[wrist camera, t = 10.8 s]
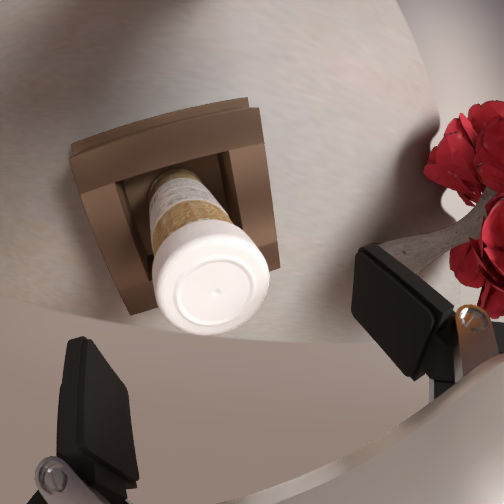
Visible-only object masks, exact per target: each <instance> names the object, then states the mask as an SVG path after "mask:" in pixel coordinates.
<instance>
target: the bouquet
mask: <svg viewBox="0 0 504 504" xmlns="http://www.w3.org/2000/svg"><path fill="white" fill-rule="evenodd" d="M427 163H428V164H427V165H426V166H425V167H424V172H423V173H424V174H425V175H426V177H427V178H428V179H429V180H431V181H433V182H436V183H438V184H440V185H442V186H444V187H446V188H450V189H452V190H455V191H457V193H458V194H459V196H460V197H461V198H462V199H463V201H464V202H465V204H466V205H468V206H473V207H474V208H473V209H472V210H471V211H470V212H469V213H468V214H467V215H466V216H465V217H463V218H462V219H461V220H459V221H458V222H456V223H454V224H452V225H451V226H449V227H446V228H444V229H442V230H439V231H435V232H431V233H426V234H421V235H415V236H409V237H403V238H398V239H394V240H390V241H387V242H384V243H381V244H378V246H380V247H381V248H382V249H384V250H385V251H386V252H388V253H389V254H390V255H392V256H393V257H394V258H396V259H397V260H398V261H399V262H401V263H402V264H403V265H405V266H406V267H407V268H408V269H410V270H411V271H412V272H414V273H415V274H417V273H418V272H420V271H421V270H422V269H424V268H425V267H426V266H427V265H429V264H430V263H431V262H433V261H434V260H435V259H436V258H438V257H439V256H441V255H442V254H444V253H445V252H447V251H448V250H450V249H451V250H450V258H449V263H450V270H452V271H453V272H454V274H455V277H456V278H457V279H458V280H459V282H460V283H462V284H463V285H465V286H469V287H473V288H480V287H482V289H481V293H480V296H479V300H478V303H477V306H478V307H481V308H482V309H483V310H485V311H486V312H487V314H488V315H489V317H490V318H492V319H498V318H499V317H500V316H504V102H503V101H498V100H496V101H493V100H492V101H487V102H485V103H483V104H482V105H480V104H475V105H473V106H472V107H471V108H470V109H469V112H468V119H467V118H466V117H465V116H464V115H463V114H462V113H460V115H459V119H458V118H454V119H453V120H452V121H451V122H450V124H448V126H447V128H446V131H445V133H444V137H443V139H442V140H441V141H440V143H439V144H438V146H436V147H434V148H433V149H432V151H431V152H430V154H429V159H428V160H427ZM481 192H482V194H481ZM474 193H475V194H474ZM470 200H471V201H473V202H475V203H476V206H475V205H474V204H473V203H472V202H471V201H470Z"/></svg>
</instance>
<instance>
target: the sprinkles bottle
mask: <svg viewBox="0 0 504 504" xmlns="http://www.w3.org/2000/svg"><path fill="white" fill-rule="evenodd" d="M148 202H149V207H150V208H149V214H150V230H151V242H152V249H153V253H154V261H153V267H152V278H153V286H154V292H155V297H156V302H157V305H158V307H159V309H160V311H161V313H162V315H163V316H164V317H165V318H166V319H167V320H168V322H169V323H171V324H172V325H173V326H175V327H176V328H178V329H180V330H182V331H184V332H187V333H190V334H195V335H217V334H221V333H225V332H228V331H230V330H233V329H235V328H237V327H239V326H240V325H242V324H243V323H245V322H246V321H248V320H249V319H250V318H251V317H252V316H253V315H254V314H255V313H256V312H257V311H258V309H259V308H260V306H261V305H262V303H263V301H264V299H265V297H266V295H267V292H268V288H269V279H270V277H269V269H268V266H267V263H266V260H265V258H264V256H263V255H262V253H261V252H260V250H259V249H258V248H257V246H256V245H255V244H254V242H253V241H252V240H251V239H250V237H249V236H248V235H247V234H246V233H245V232H244V231H243V230H241V229H240V228H239V227H237V226H235V225H234V224H233V223H232V222H231V220H230V218H229V216H228V214H227V213H226V211H225V210H224V209H223V208H222V206H221V205H220V204H219V203H218V201H217V200H216V199H215V198H214V196H213V195H212V194H211V193H210V191H209V190H208V189H207V188H206V187H205V186H204V184H203V182H202V181H201V179H200V178H199V177H198V176H197V175H196V174H195V173H193V172H191V171H188V170H186V169H180V168H178V169H170V170H168V171H165V172H163V173H162V174H160V175H159V176H158V177H157V178H156V179H155V180H154V182H153V183H152V185H151V187H150V190H149V194H148Z"/></svg>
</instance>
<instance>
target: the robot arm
mask: <svg viewBox="0 0 504 504" xmlns="http://www.w3.org/2000/svg"><path fill="white" fill-rule="evenodd" d="M453 308H454V305H452V304H451V303H450V302H449V301H448V300H447V299H445V298H444V297H443V296H442V295H441V294H439V293H438V292H437V291H436V290H435V289H433V288H432V287H431V286H430V285H428V284H427V283H426V282H425V281H424V280H422V279H421V278H420V277H419V276H417V275H416V274H415V273H414V272H412V271H411V270H410V269H408V268H407V267H406V266H405V265H403V264H402V263H401V262H399V261H398V260H397V259H396V258H394V257H393V256H392V255H390V254H389V253H388V252H386V251H385V250H384V249H382V248H381V247H380V246H378V245H377V244H375V243H372V244H369V245H366V246H364V247H361V248H360V249H359V250H358V253H357V254H356V256H355V270H354V283H353V295H352V305H351V311H352V314H353V316H354V318H355V319H356V320H357V321H358V322H359V323H360V324H361V325H362V327H363V328H364V329H365V330H366V331H367V332H368V333H369V335H370V336H371V337H372V338H373V339H374V340H375V341H376V342H377V344H378V345H379V346H380V347H381V348H382V349H383V350H384V351H385V353H386V354H387V355H388V356H389V357H390V358H391V360H392V361H393V362H394V363H395V364H396V366H397V367H398V368H399V369H400V370H401V371H402V373H403V374H404V375H405V376H407V377H409V376H410V377H411V378H412V379H413V381H416V380H417V379H419V378H420V377H421V376H423V375H424V374H425V373H426V374H427V375H428V376H429V404H428V405H426V406H425V407H424V408H422V409H421V410H420V411H418V412H417V413H415V414H414V415H412V416H411V417H409V418H408V419H406V420H405V421H403V422H402V423H400V424H399V425H397V426H396V427H394V428H393V429H391V430H389V431H388V432H386V433H384V434H383V435H381V436H379V437H378V438H376V439H374V440H373V441H371V442H369V443H367V444H366V445H364V446H362V447H360V448H358V449H357V450H355V451H353V452H351V453H349V454H347V455H345V456H343V457H341V458H339V459H337V460H335V461H333V462H331V463H329V464H327V465H325V466H323V467H320V468H318V469H316V470H314V471H311V472H309V473H307V474H305V475H302V476H300V477H297V478H295V479H293V480H290V481H287V482H284V483H282V484H279V485H276V486H274V487H271V488H268V489H265V490H262V491H259V492H256V493H253V494H250V495H247V496H243V497H240V498H237V499H233V500H230V501H226V502H222V503H218V504H504V323H502V322H493V321H491V319H490V317H489V315H488V314H487V312H486V311H485V310H483V309H482V308H481V307H478V306H476V305H471V304H470V305H463V306H461V307H459V308H458V309H457V311H456V313H455V312H454V311H453ZM56 455H57V457H56V456H50V457H47V458H45V459H43V460H42V461H41V462H40V463H39V465H38V466H37V468H36V471H35V482H36V486H37V488H38V491H37V492H36V493H35V494H34V495H33V497H32V498H31V499H30V501H29V502H28V503H27V504H133V503H132V502H131V501H130V500H128V499H127V493H126V489H133V488H137V484H136V481H138V480H139V472H138V467H137V461H136V454H135V447H134V440H133V433H132V425H131V416H130V406H129V395H128V391H127V388H126V387H125V385H124V384H123V382H122V381H121V380H120V379H119V377H118V376H117V375H116V373H115V372H114V371H113V369H112V368H111V367H110V365H109V364H108V362H107V361H106V360H105V358H104V357H103V355H102V354H101V353H100V351H99V350H98V348H97V347H96V345H95V344H94V342H93V341H92V340H91V339H88V340H87V338H86V337H84V336H82V337H79V338H75V339H71V340H69V341H68V343H67V349H66V355H65V362H64V370H63V378H62V384H61V387H60V394H59V405H58V420H57V453H56Z"/></svg>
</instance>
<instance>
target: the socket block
mask: <svg viewBox="0 0 504 504" xmlns="http://www.w3.org/2000/svg"><path fill="white" fill-rule="evenodd" d="M71 146H72V150H73V154H74V156H72V157H71V158H70V159H69V161H70V165H71V168H72V172H73V175H74V178H75V181H76V184H77V188H78V191H79V194H80V197H81V200H82V203H83V205H84V208H85V211H86V214H87V217H88V219H89V222H90V225H91V227H92V230H93V233H94V235H95V238H96V240H97V243H98V245H99V248H100V250H101V253H102V255H103V257H104V260H105V262H106V264H107V267H108V269H109V271H110V273H111V276H112V278H113V280H114V282H115V285H116V287H117V289H118V291H119V293H120V295H121V297H122V299H123V301H124V304H125V306H126V308H127V310H128V312H129V314H130V316H131V315H134V314H138V313H141V312H144V311H147V310H151V309H154V308H157V307H158V305H157V302H156V297H155V292H154V286H153V278H152V267H153V261H154V253H153V249H152V242H151V230H150V214H149V208H150V207H149V202H148V194H149V190H150V187H151V185H152V183H153V182H154V180H155V179H156V178H157V177H158V176H159V175H160V174H162V173H163V172H165V171H168V170H170V169H178V168H180V169H186V170H188V171H191V172H193V173H195V174H196V175H197V176H198V177H199V178H200V179H201V181H202V182H203V184H204V186H205V187H206V188H207V189H208V190H209V191H210V193H211V194H212V195H213V196H214V198H215V199H216V200H217V201H218V203H219V204H220V205H221V206H222V208H223V209H224V210H225V211H226V213H227V214H228V216H229V218H230V220H231V222H232V223H233V224H234V225H235V226H237V227H239V228H240V229H241V230H243V231H244V232H245V233H246V234H247V235H248V236H249V237H250V239H251V240H252V241H253V242H254V244H255V245H256V246H257V248H258V249H259V250H260V252H261V253H262V255H263V256H264V258H265V260H266V263H267V266H268V269H269V272H270V271H273V270H276V269H279V268H280V260H279V252H278V244H277V235H276V227H275V219H274V212H273V204H272V196H271V189H270V181H269V174H268V167H267V159H266V152H265V145H264V138H263V132H262V125H261V118H260V111H259V108H249V103H248V97H246V98H238V99H232V100H226V101H221V102H216V103H210V104H205V105H201V106H196V107H191V108H187V109H183V110H178V111H174V112H170V113H166V114H162V115H159V116H155V117H151V118H148V119H144V120H141V121H137V122H134V123H131V124H127V125H124V126H121V127H118V128H115V129H112V130H109V131H106V132H103V133H100V134H97V135H94V136H92V137H89V138H86V139H84V140H81V141H78V142H76V143H73V144H71Z"/></svg>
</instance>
